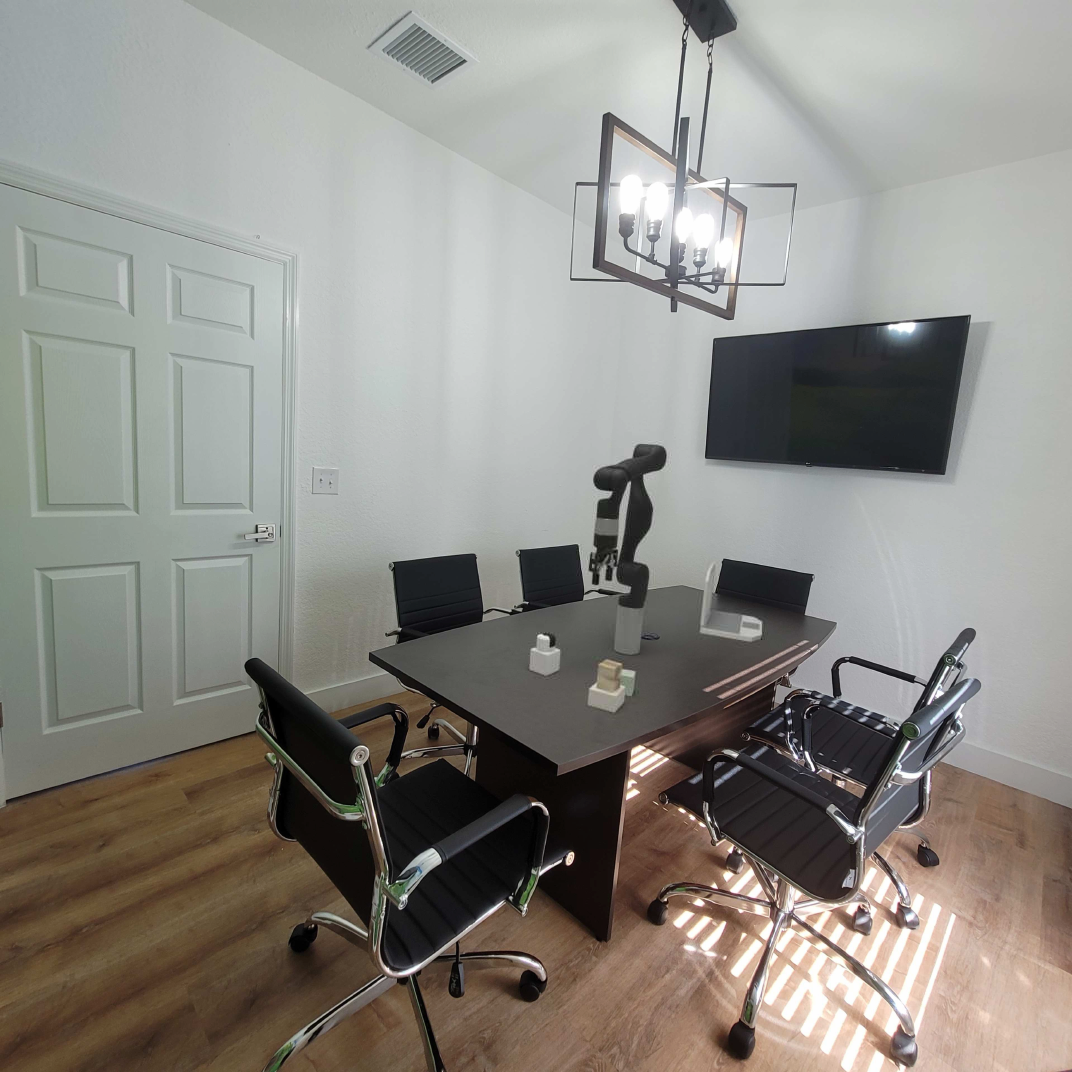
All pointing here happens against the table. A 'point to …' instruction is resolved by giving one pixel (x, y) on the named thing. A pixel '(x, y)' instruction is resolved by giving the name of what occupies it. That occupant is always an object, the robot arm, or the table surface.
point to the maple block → (609, 675)
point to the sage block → (628, 681)
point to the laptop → (726, 618)
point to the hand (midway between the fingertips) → (601, 582)
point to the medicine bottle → (545, 655)
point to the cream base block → (606, 698)
